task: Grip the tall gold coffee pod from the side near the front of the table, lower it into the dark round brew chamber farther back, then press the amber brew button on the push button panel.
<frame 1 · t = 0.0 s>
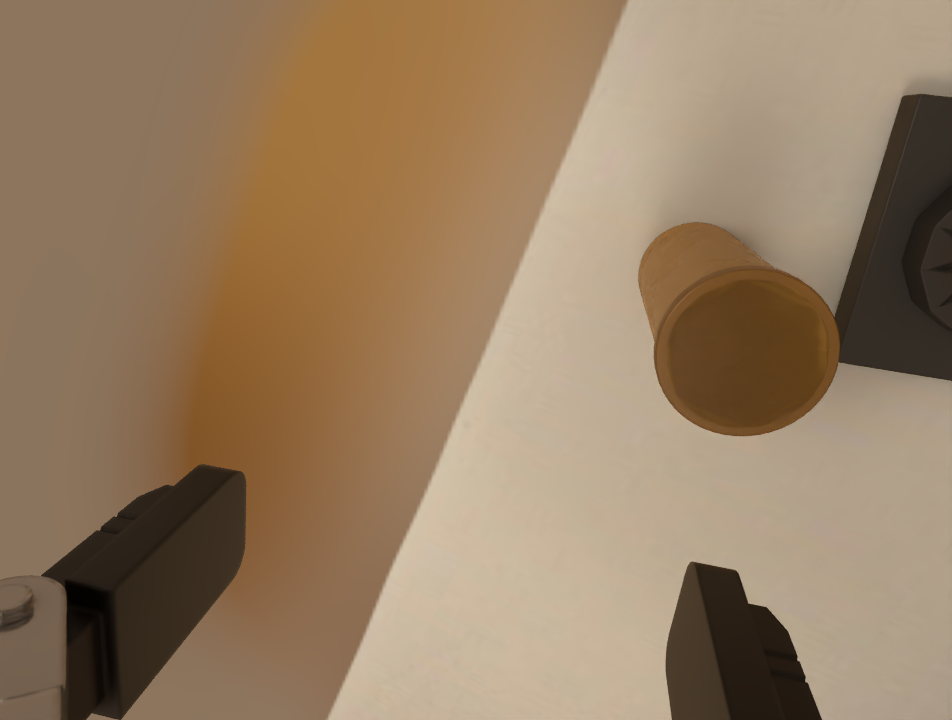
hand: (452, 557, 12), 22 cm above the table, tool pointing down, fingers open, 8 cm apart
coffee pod: (692, 275, 32), on the table
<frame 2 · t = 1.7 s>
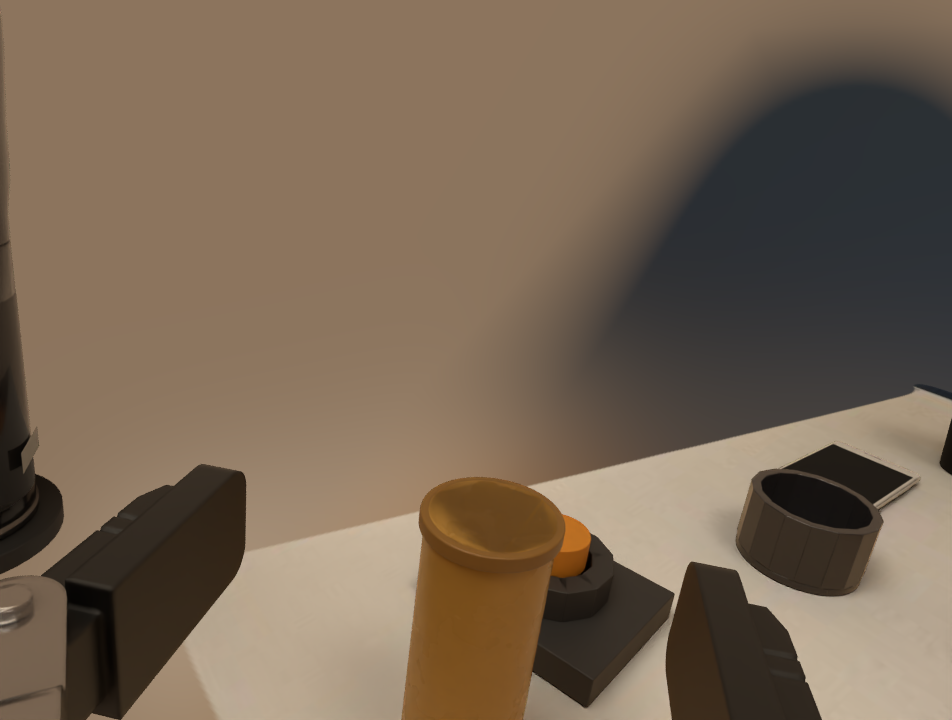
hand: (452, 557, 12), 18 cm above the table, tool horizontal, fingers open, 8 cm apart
pod chamber: (796, 557, 47), on the table
brew button: (555, 544, 37), point 4 cm above the table, slide at 0.1 cm
push button panel: (543, 604, 39), on the table
smartphone: (839, 485, 58), on the table
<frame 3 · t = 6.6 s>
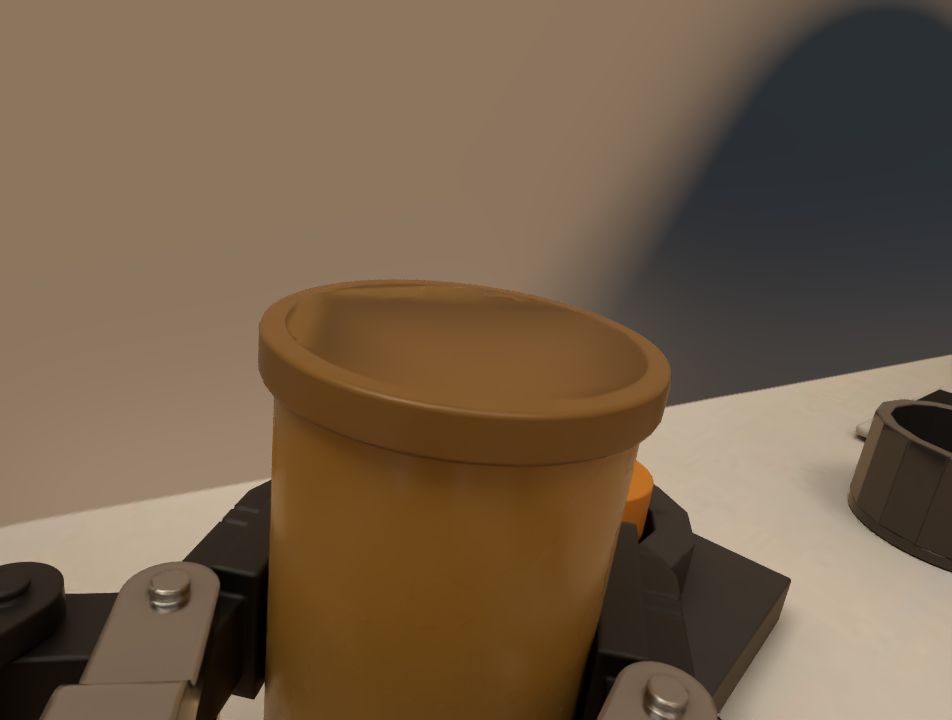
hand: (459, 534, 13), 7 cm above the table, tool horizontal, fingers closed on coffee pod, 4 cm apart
pod chamber: (944, 528, 31), on the table
brew button: (589, 493, 22), point 4 cm above the table, slide at 0.1 cm
push button panel: (568, 599, 23), on the table
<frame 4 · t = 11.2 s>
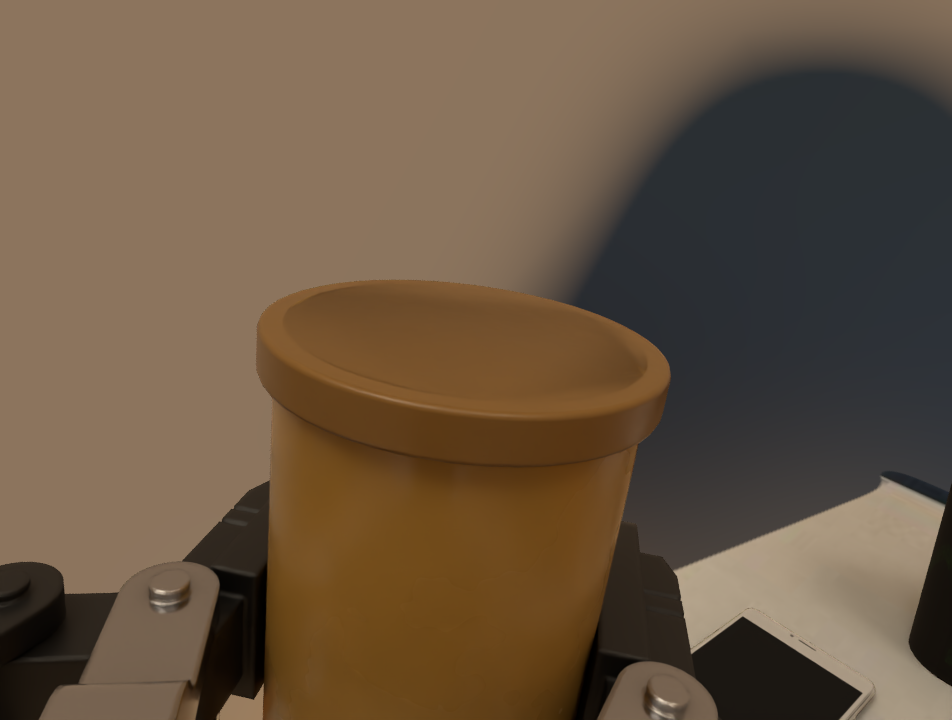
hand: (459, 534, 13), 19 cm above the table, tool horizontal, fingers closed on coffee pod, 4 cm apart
smartphone: (740, 714, 35), on the table
when the fingers open (8 cm above the table, at t = 16.0 s): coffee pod stays where it is, resting on pod chamber.
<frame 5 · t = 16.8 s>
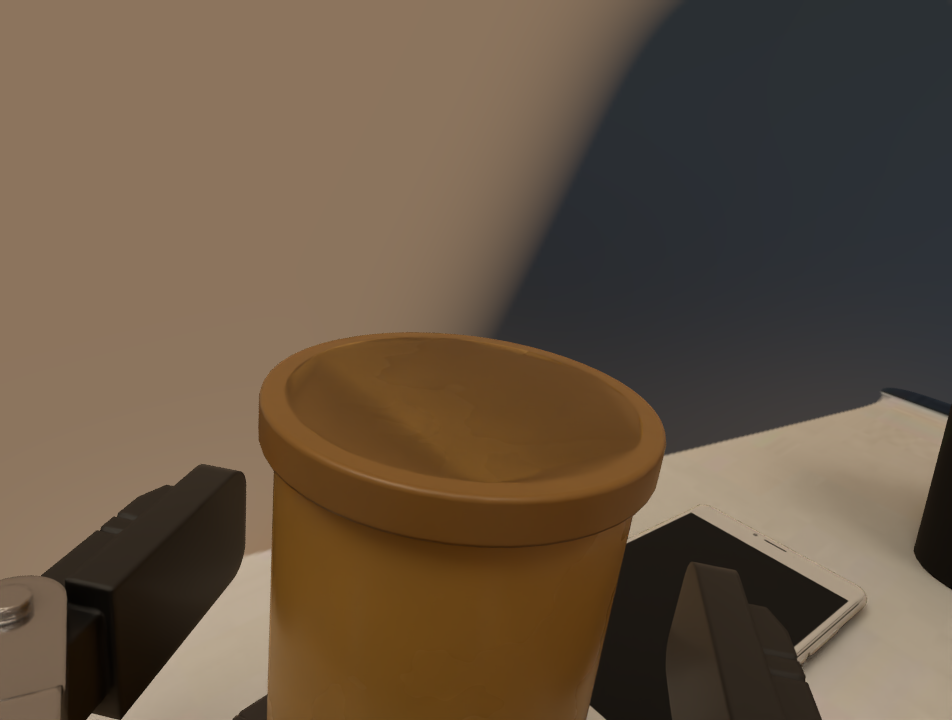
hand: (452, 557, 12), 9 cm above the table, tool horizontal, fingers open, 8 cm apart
smartphone: (673, 625, 24), on the table
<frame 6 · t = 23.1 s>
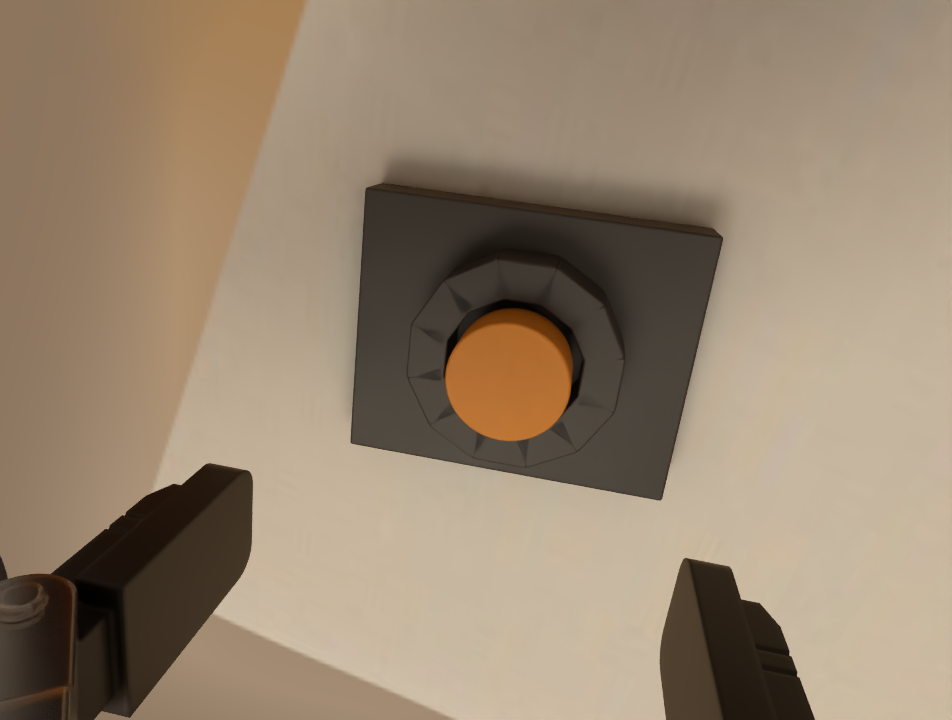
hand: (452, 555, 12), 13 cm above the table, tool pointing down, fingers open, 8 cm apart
brew button: (510, 373, 21), point 4 cm above the table, slide at 0.1 cm
push button panel: (524, 335, 24), on the table
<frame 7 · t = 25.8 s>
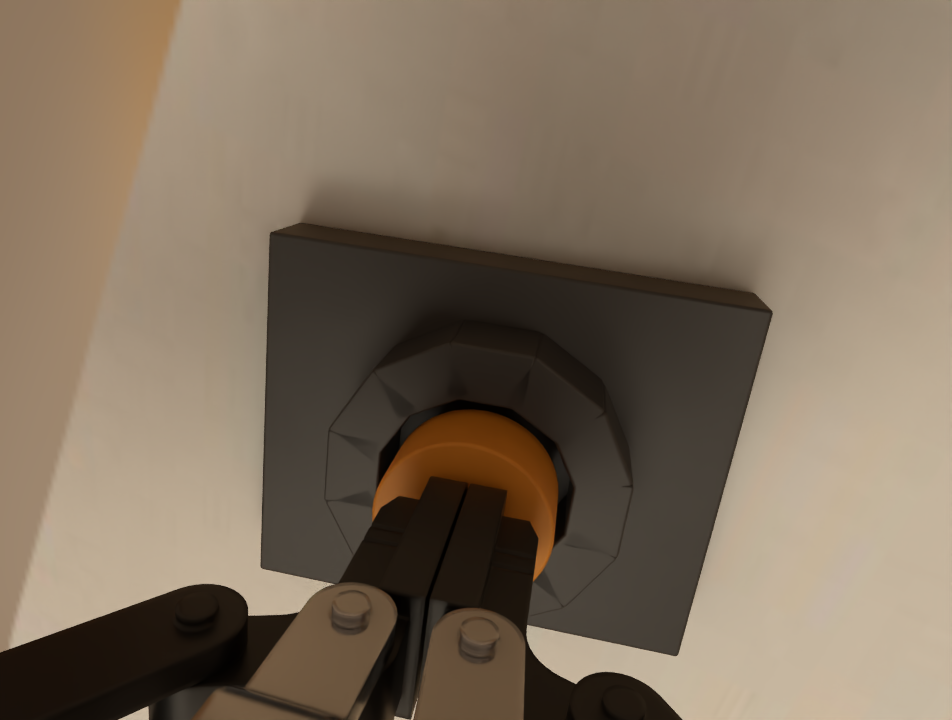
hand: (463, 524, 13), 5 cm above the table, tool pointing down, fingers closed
brew button: (468, 505, 14), point 4 cm above the table, slide at 0.1 cm, touching gripper
push button panel: (493, 427, 18), on the table
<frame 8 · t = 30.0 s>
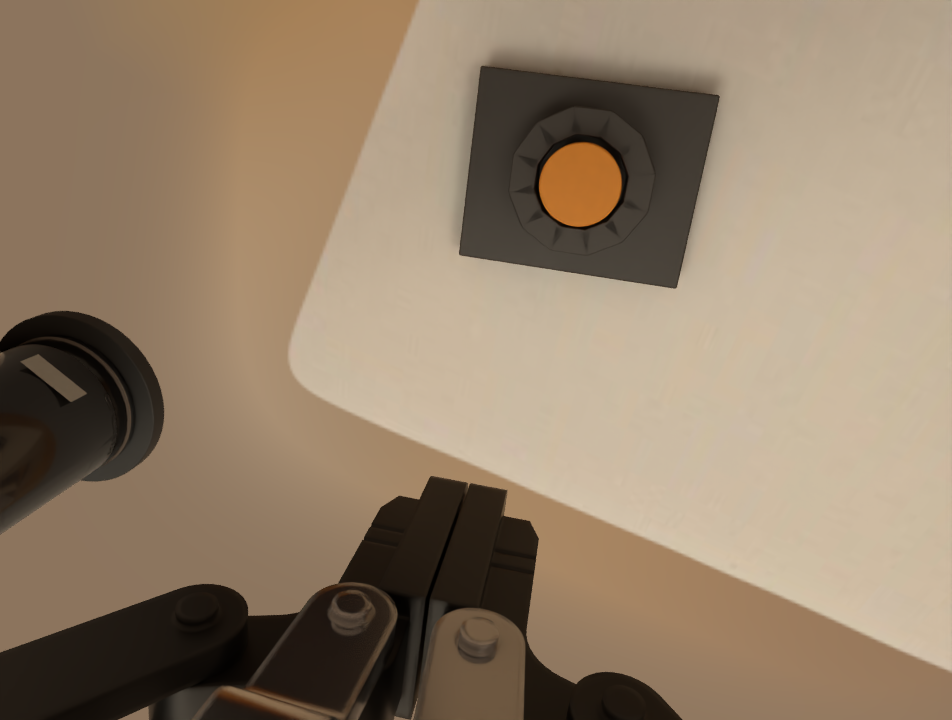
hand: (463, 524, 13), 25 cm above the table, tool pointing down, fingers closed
brew button: (580, 183, 31), point 4 cm above the table, slide at 0.1 cm
push button panel: (581, 177, 35), on the table
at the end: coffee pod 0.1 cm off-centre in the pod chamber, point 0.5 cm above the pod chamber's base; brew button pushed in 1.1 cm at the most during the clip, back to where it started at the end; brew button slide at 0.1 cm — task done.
